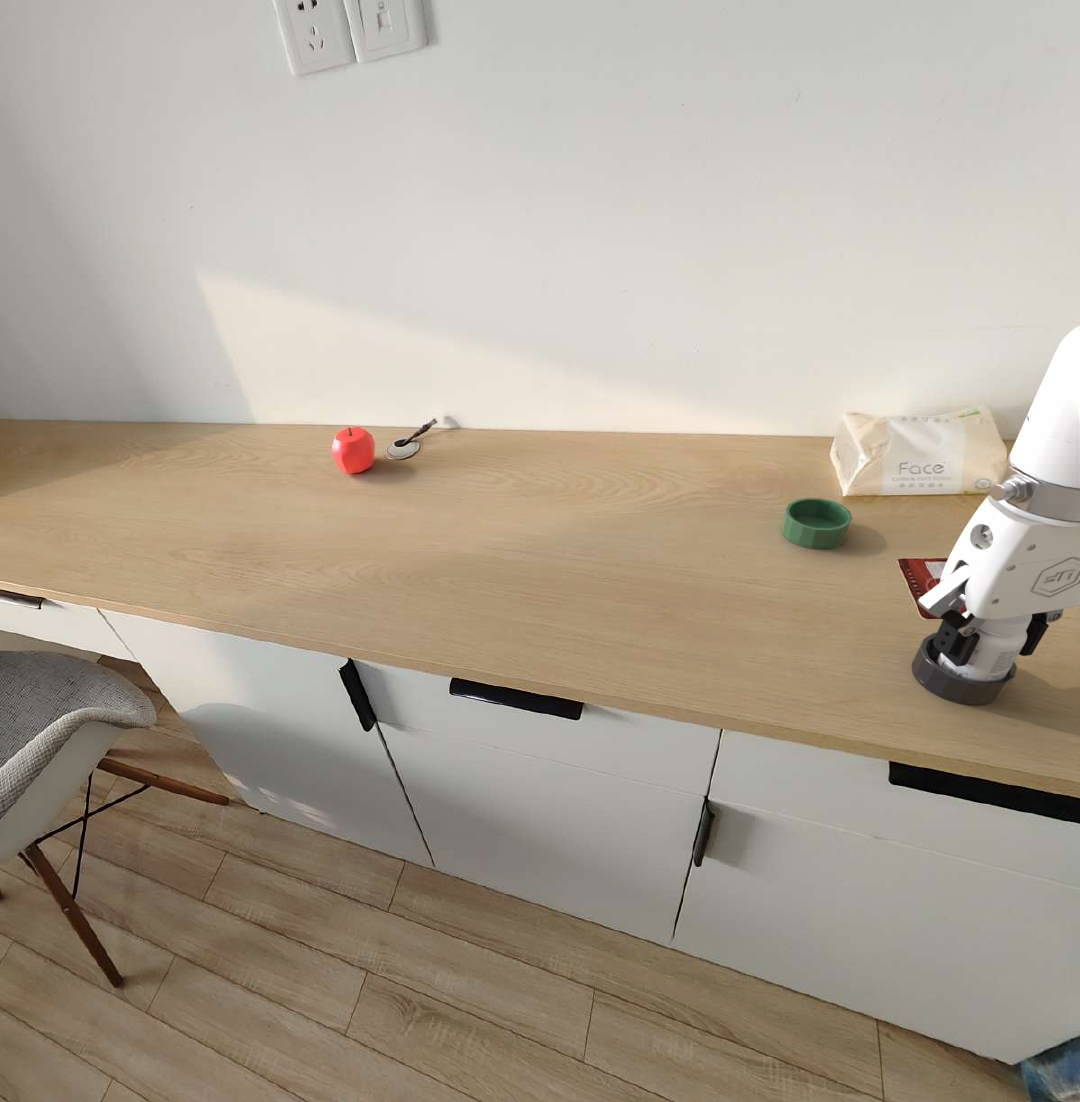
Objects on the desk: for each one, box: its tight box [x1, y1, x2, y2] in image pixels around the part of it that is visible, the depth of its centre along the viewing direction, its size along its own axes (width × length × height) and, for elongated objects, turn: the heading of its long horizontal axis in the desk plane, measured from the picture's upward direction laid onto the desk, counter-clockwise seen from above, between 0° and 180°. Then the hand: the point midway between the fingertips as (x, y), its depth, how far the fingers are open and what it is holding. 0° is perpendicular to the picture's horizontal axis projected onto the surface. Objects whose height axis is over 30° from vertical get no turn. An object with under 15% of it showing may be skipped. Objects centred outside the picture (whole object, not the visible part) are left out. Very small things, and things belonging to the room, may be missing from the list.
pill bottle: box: [936, 609, 1032, 682], centre depth 60 cm, size 5×5×8 cm
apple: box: [331, 426, 376, 475], centre depth 116 cm, size 8×8×8 cm
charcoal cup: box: [911, 632, 1018, 706], centre depth 63 cm, size 7×7×3 cm
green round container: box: [780, 497, 853, 550], centre depth 82 cm, size 7×7×3 cm
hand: (980, 648), depth 61 cm, fingers closed on pill bottle, 4 cm apart
